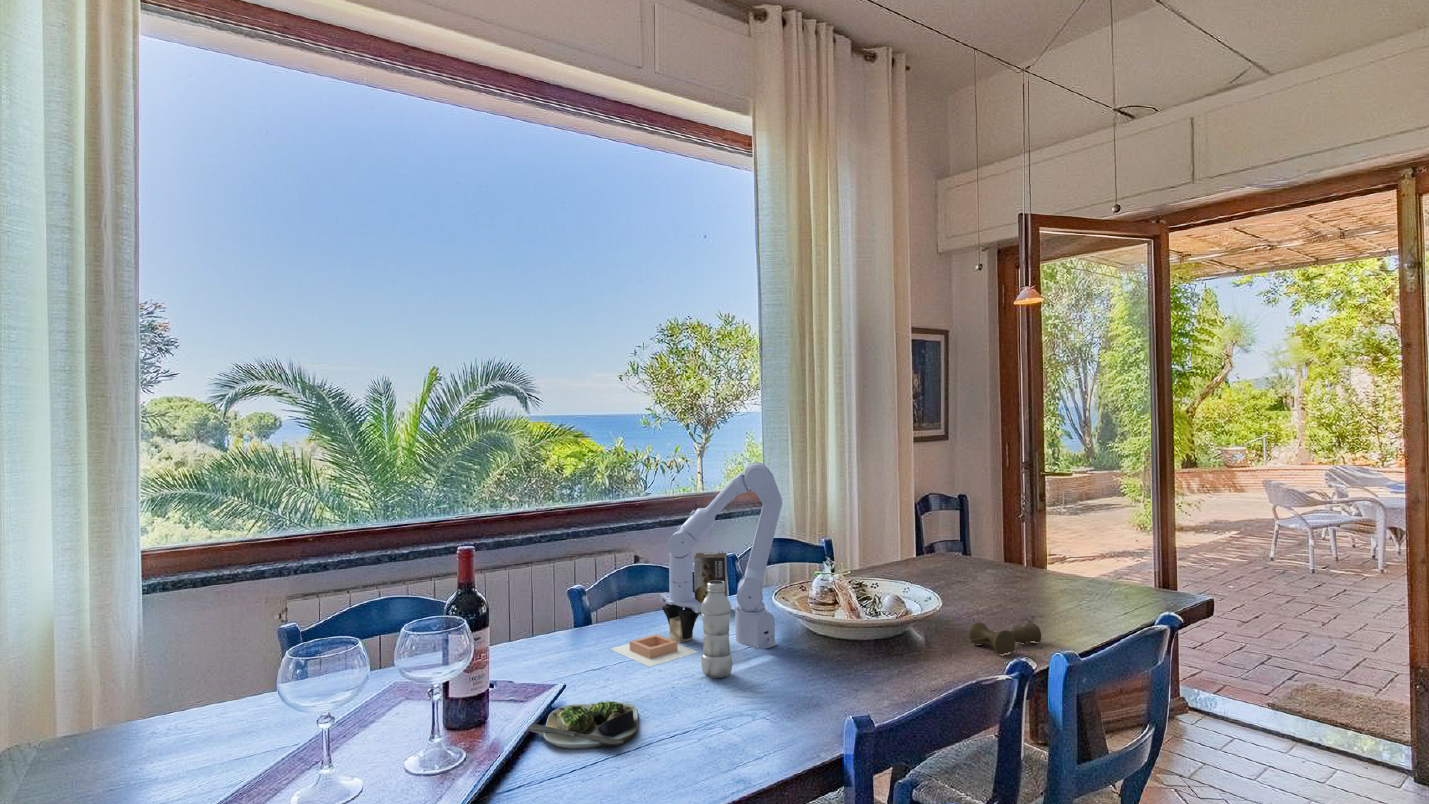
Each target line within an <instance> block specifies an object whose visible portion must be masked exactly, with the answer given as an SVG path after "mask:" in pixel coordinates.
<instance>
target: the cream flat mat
mask: <svg viewBox="0 0 1429 804" xmlns="http://www.w3.org/2000/svg"><path fill="white" fill-rule="evenodd" d="M677 644H678V643H677ZM654 646H658V645H653V646H650V647H654ZM609 650H611V651H613V652H615V653H618V654H620V655H622V656H624V657H627V658H629V659H631V660H633V661H634V662H638V663H639V664H641V665H644V666H647V667H648V668H651V667H654V666H658V665H660V664H661V665H662V664H664V663H666V662H670V661H673V660H678V659H680V658H684V657H686V656H690V655H694V654H697V653H698V651H697V650H694V649H691V648H689V647H687V646H683V645H681V644H680V643H679V644H678V651H675V652H671V653H668V654H665V655H661V656H658V657H654V658H651V659H649V658H647V657H645V656H642V655H640V654H638V653H635V652H633V651H631V650H630V642H629V643H626V644H622V645H618V646H615V647H612V648H609Z"/></svg>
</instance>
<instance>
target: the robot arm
mask: <svg viewBox="0 0 1429 804" xmlns="http://www.w3.org/2000/svg"><path fill="white" fill-rule="evenodd" d="M749 490H750V491H752V492H753V493H754V494H755V495H756V496H757V497H758V499H759V501H760V503H761V504H762V506H761V509H760V510H761V511H760V515H759V518H758V522H757V526H756V530H755V534H754V538H753V542H752V546H751V549H750V553H749V557H748V561H747V564H746V568H745V571H744V574H743V577H742V578H740V580H739V581H738V583H737V592H736V601H737V602H736V603H735V605H734V606H735V608H734V609H735V611H734V612H735V613H734V614H735V641H736V643H738V644H741V645H745V646H749V647H754V648H755V649H760V648H762V649H769V648H773V647H775V646H778V643H777V642H776V636H775V635H776V634H775V633H776V627H775V626H776V623H775V617H774V615H773V613H771V612H769V611H768V610H767V609H766V607H765V606H766V604H765V603H764V602H763V601H764V595H763V590H764V589H763V583H764V578H765V573H766V570H767V565H768V562H769V561H768V560H769V557H770V554H771V553H770V552H771V549H772V546H773V542H774V538H775V534H776V530H777V527H778V521H779V517H780V514H781V511H782V510H781V509H782V505H783V498H782V495H781V493H780V491H779V487H778V484H777V483H776V479H775V476H774V474H773V473H772V472H771V470H769V468H768V467H767V466H766V464H764V463H762V462H759V461H758V462H757V461H755V462H752V463H750V464H748V466H746V468H745V470H744V469H743V470H741V471H740V472H739V473H738V474H737V475H735V476H734V477H732V479H731V480H730V481H729V482H728V483H727V484H726V485H725V487H723V489H722V490H721V491H720V492H719V493H718V494H717V495H716V497H715V498H714V499H712V501H711V502H710V503H709V504H708V505H707V506H706V507H699V508H697V509H696V510H695V509H693V510H691V512H690V513H689V515H690V516H689V517H688V518H687V520H686V521H685V522H684V523H682V525H679V526H677V527H676V529H677V531H675V532H674V533H673V534H672V535H671V537H670V538H669V539H668V543H667V547H668V548H667V549H668V551H669V562H668V563H669V564H668V566H669V567H668V572H669V573H668V576H669V577H668V579H669V587H668V588H669V592H662V593H660V594H659V602H661V603H665V605H662V607H661V608H662V611H663V612H664V614H665V615H664V616H665V617H666V619H667V623H668V625H669V627H670V618H674V617H678V616H679V617H680V620H681V625H682V636H683V639H688V638H691V636H692V632H693V633H694V631H693V630H694V629H695V628H694V626H695V625H696V622H697V619H698V617H699V615H701V614H700V612H701V604H702V603H700V602H698V601H697V600H696V599H695V597H693V596H694V595H693V593H694V592H693V591H694V589H693V588H694V587H693V560H692V549H693V547H694V544H697V543H699V542H700V541H701V539H703V538H704V537H705V535H707V534H708V532H709V531H710V530H711V529H712V528H713V527H714V526H715V525H716V516H717V515H718V514H719V513H720V512H722V511H723V509H725V507H727V505H728V504H729V503H731V501H732V500H733V499H735V497H736V496H738V495H742V494H746V493H749Z"/></svg>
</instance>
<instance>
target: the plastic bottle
mask: <svg viewBox="0 0 1429 804" xmlns="http://www.w3.org/2000/svg"><path fill="white" fill-rule="evenodd" d="M707 592H708V594H707V596H706V597H705V598H704V600H703V602H702V604H701V614H700V615H701V620H702V626H703V627H702V628H703V649H702V650H703V651H702V655H701V670H702V672H703V674H705V675H706V677H709V678H712V679H713V678H715V679H720V678H721V679H722V678H725V677H728V676H730V674H731V672H733V671H732V669H733V663H734V662H733V659H732V657H733V656H732V654H731V645H730V623H731V614H732V606H731V603H730V601H729V598H728V596H727V597H726V596H725V594H724V592H725V582H723V581H709V582H708V583H707Z"/></svg>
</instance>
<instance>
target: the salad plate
mask: <svg viewBox="0 0 1429 804" xmlns="http://www.w3.org/2000/svg"><path fill="white" fill-rule="evenodd" d="M639 715H640V714H639V711H638V708H637V707H636V706H635V705H633V704H631V703H628V702H625V701H614V700H613V701H609V700H605V702H604V701H598V702H597V703H575V704H573V703H572V704H567V705H562V706H560V707H557V708H556V709H554V710H552V711H551V712H550V713H549V714H548V717H547V719H546V722H545V723H546V724H545V725H541V724H537V723H532V724H529V725H528V726H527V728H528V729H527V730H528V731H529V732H532V733H535V734H539V735H541V737H543V738H544V740H545V741H546V742H547V743H550V744H551V745H554V746H556V747H559V748H564V749H570V750H571V749H572V750H573V749H574V750H575V749H601V748H603V749H604V748H613V747H614V748H615V747H619V746H621V745H624V744H626V743H628V742H630V741H632V740H633V739H634V738H635V736H636V735H637V732H638V729H639Z"/></svg>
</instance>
